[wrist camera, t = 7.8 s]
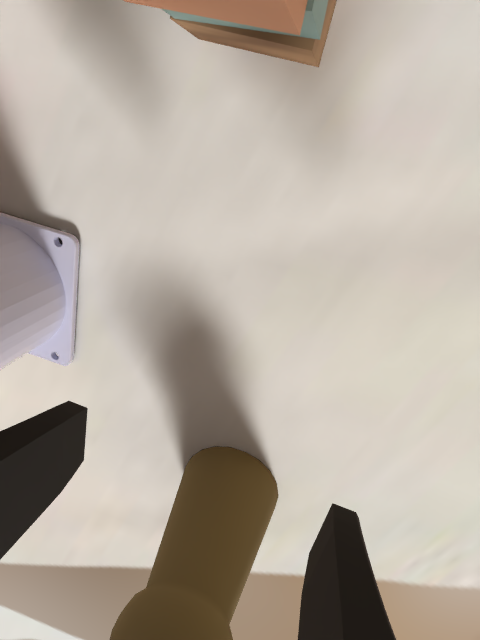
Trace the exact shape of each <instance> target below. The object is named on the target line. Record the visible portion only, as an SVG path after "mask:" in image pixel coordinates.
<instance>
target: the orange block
mask: <svg viewBox="0 0 480 640" xmlns="http://www.w3.org/2000/svg"><path fill="white" fill-rule="evenodd" d="M124 1H125V2H130V3H135V4H140V5H146V6H151V7H156V8H161V9H166V10H171V11H177V12H182V13H187V14H192V15H197V16H202V17H207V18H213V19H218V20H223V21H228V22H233V23H238V24H243V25H249V26H254V27H259V28H264V29H269V30H274V31H279V32H285V33H290V34H295V35H300V33H301V28H302V24H303V19H304V15H305V10H306V6H307V1H308V0H124Z"/></svg>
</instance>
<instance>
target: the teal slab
mask: <svg viewBox="0 0 480 640" xmlns="http://www.w3.org/2000/svg"><path fill="white" fill-rule="evenodd" d="M327 4H328V0H308V1H307V6H306V10H305V15H304V19H303V24H302V28H301V33H300V35H295V34H290V33H285V32H279V31H274V30H269V29H264V28H259V27H254V26H249V25H243V24H238V23H233V22H228V21H223V20H218V19H213V18H207V17H202V16H197V15H192V14H187V13H182V12H177V11H171V10H166V9H162V10H164V11H165V12H166V13H168V14H169V15H170V16H172V17H173V18H174V19H181V20H188V21H194V22H201V23H208V24H215V25H222V26H229V27H236V28H243V29H250V30H257V31H263V32H270V33H277V34H284V35H291V36H298V37H305V38H312V39H318V40H320V38H321V33H322V28H323V23H324V19H325V14H326V9H327Z"/></svg>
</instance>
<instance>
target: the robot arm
mask: <svg viewBox="0 0 480 640" xmlns="http://www.w3.org/2000/svg"><path fill="white" fill-rule="evenodd" d="M59 238H61V240H62V242H63V244H62V245H61V244H60V242H59ZM78 266H79V241H78V239H77V238H76V237H75V236H74V235H72V234H70V233H66V232H63V231H60V230H57V229H53V228H50V227H47V226H44V225H40V224H37V223H34V222H31V221H27V220H24V219H21V218H17V217H14V216H11V215H8V214H4V213H1V212H0V370H1V369H3V368H5V367H6V366H8V365H9V364H11V363H12V362H14V361H16V360H17V359H19V358H20V357H22V356H24V355H25V354H27V353H29V354H32V355H35V356H38V357H40V358H43V359H46V360H49V361H52V362H54V363H57V364H60V365H63V366H67V365H69V364H70V363H72V362H73V359H74V342H75V323H76V304H77V285H78ZM56 353H57V354H58V356H57V355H56ZM86 421H87V408H86V407H83V406H81V405H78V404H76V403H73V402H71V401H67V402H65V403H63V404H60V405H58V406H56V407H54V408H52V409H49V410H47V411H45V412H43V413H41V414H38V415H36V416H34V417H32V418H30V419H27V420H25V421H23V422H21V423H18V424H16V425H14V426H12V427H9V428H7V429H5V430H2V431H0V559H1V558H2V557H3V556H4V555H5V554H6V553H7V552H8V550H9V549H10V548H11V547H12V546H13V545H14V544H15V543H16V542H17V540H18V539H19V538H20V537H21V536H22V535H23V534H24V533H25V532H26V531H27V529H28V528H29V527H30V526H31V525H32V524H33V523H34V522H35V521H36V520H37V518H38V517H39V516H40V515H41V514H42V513H43V512H44V511H45V510H46V508H47V507H48V506H49V505H50V504H51V503H52V502H53V501H54V499H55V498H56V497H57V496H58V495H59V494H60V493H61V491H62V490H63V489H64V487H65V486H66V485H67V483H68V482H69V481H70V479H71V478H72V476H73V475H74V474H75V472H76V471H77V469H78V468H79V466H80V465H81V463H82V462H83V461H84V449H85V435H86ZM301 598H302V599H301V608H300V620H299V632H298V633H299V634H298V640H396V638H395V636H394V633H393V630H392V628H391V625H390V622H389V619H388V616H387V614H386V611H385V608H384V605H383V602H382V599H381V596H380V593H379V590H378V587H377V583H376V580H375V577H374V574H373V571H372V567H371V564H370V560H369V557H368V553H367V550H366V546H365V542H364V538H363V535H362V531H361V527H360V522H359V518H358V516H357V514H356V512H354V511H351V510H348V509H346V508H343V507H341V506H338V505H336V504H332V506H331V508H330V510H329V512H328V514H327V516H326V519H325V521H324V523H323V525H322V527H321V529H320V531H319V534H318V536H317V538H316V540H315V542H314V544H313V546H312V549H311V551H310V553H309V558H308V563H307V568H306V573H305V579H304V585H303V590H302V597H301Z"/></svg>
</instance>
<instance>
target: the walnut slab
mask: <svg viewBox="0 0 480 640" xmlns="http://www.w3.org/2000/svg"><path fill="white" fill-rule="evenodd" d="M336 1H337V0H328V4H327V9H326V14H325V19H324V23H323V28H322V33H321V38H320V40H318V39H312V38H305V37H298V36H291V35H284V34H277V33H270V32H263V31H257V30H250V29H243V28H236V27H229V26H222V25H215V24H208V23H201V22H194V21H188V20H181V19H174V18H173V17H172V16H170V19H172V20H173V21H174V22H176V23H177V24H179V25H180V26H181V27H183V28H184V29H186V30H187V31H188V32H190V33H191V34H192V35H194V36H195V37H197V38H198V39H201V40H205V41H209V42H213V43H218V44H222V45H226V46H231V47H235V48H239V49H243V50H248V51H252V52H256V53H260V54H265V55H269V56H273V57H278V58H282V59H286V60H290V61H295V62H299V63H303V64H307V65H312V66H316V67H319V64H320V60H321V56H322V53H323V49H324V45H325V42H326V38H327V34H328V31H329V27H330V23H331V19H332V16H333V12H334V8H335V5H336Z"/></svg>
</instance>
